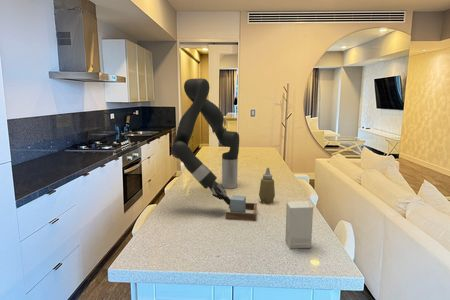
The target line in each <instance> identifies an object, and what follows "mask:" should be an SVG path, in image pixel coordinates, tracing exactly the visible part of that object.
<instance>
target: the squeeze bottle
mask: <svg viewBox="0 0 450 300" xmlns="http://www.w3.org/2000/svg"><path fill="white" fill-rule="evenodd" d="M275 190H276V189H275V180H274V178H273V174H271V171H270V167H266V170H265V173H264V174H262V178H261V179H260V186H259V192H258V196H259V200H260V203H262V204H266V205H268V204H273V202H274V199H275V197H276V195H275V194H276V192H275Z"/></svg>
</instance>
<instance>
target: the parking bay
mask: <svg viewBox="0 0 450 300" xmlns="http://www.w3.org/2000/svg"><path fill="white" fill-rule="evenodd" d="M257 208H258V203H256V202H246V211H247V210H249V211H251V210H252V211H253V212H251V213H250V212H245V213H239V212H230V211H225V220H233V221H248V222H249V221H251V222H256V221H257ZM228 209H229V210H230V205H228Z"/></svg>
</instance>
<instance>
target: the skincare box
mask: <svg viewBox="0 0 450 300" xmlns="http://www.w3.org/2000/svg"><path fill="white" fill-rule="evenodd" d="M285 206H286V208H285V209H286V211H285V212H286V214H285V243H286V245H287V246H288V248H289V249H311V248H312V239H313V238H312V236H313V220H314V219H313V216H314V206H313V205H312V204H311V203H310V201H308V200H305V201H303V200H302V201H301V200H299V201H297V200H296V201H286V205H285Z"/></svg>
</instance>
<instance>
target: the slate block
mask: <svg viewBox="0 0 450 300" xmlns="http://www.w3.org/2000/svg"><path fill="white" fill-rule="evenodd" d="M246 203H247V195H246V196H245V195H235V194H232V196H231V198H230V209H229V212H239V213H246V211H247V210H246Z"/></svg>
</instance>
